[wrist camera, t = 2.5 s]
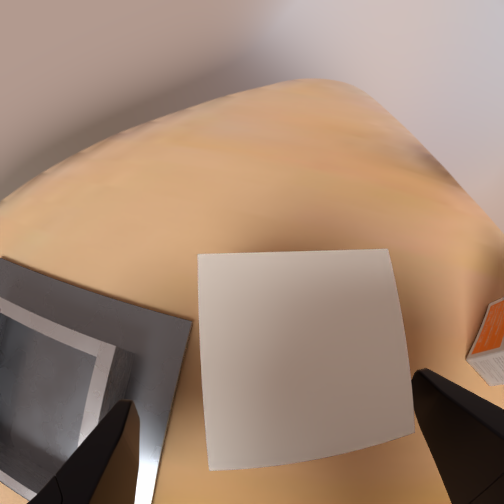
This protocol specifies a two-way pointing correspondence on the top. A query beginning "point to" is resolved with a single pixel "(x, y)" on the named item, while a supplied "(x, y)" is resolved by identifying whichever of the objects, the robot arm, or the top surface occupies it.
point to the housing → (79, 375)
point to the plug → (300, 356)
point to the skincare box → (490, 346)
